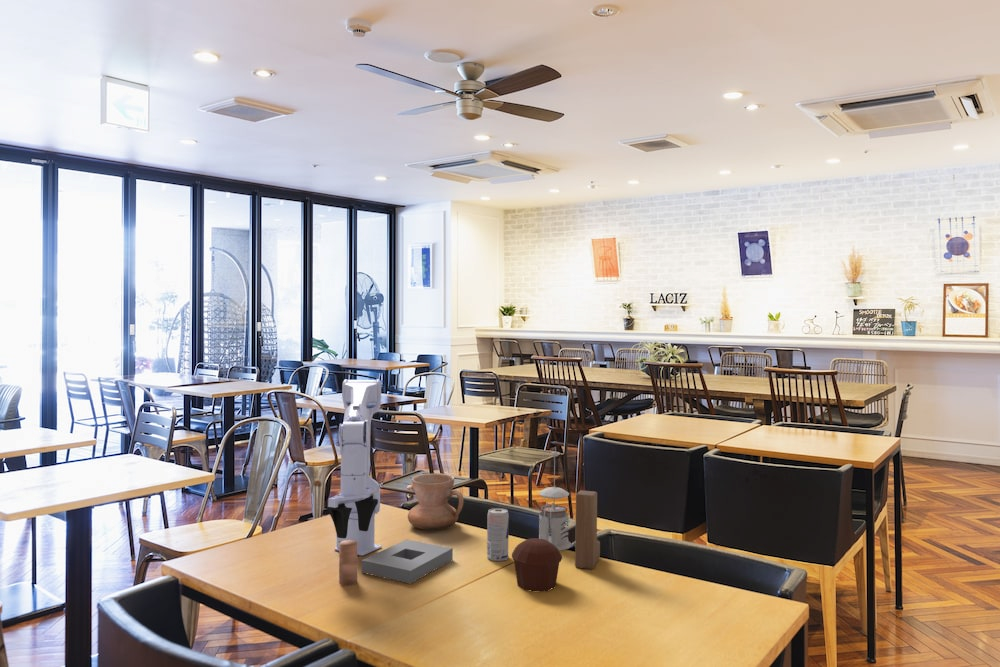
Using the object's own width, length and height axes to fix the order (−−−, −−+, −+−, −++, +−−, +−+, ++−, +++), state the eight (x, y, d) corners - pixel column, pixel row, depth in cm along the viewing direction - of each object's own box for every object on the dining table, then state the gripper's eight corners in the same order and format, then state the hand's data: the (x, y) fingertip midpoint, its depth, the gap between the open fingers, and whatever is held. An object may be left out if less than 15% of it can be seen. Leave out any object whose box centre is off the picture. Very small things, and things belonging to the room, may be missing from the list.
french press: (575, 541, 194) (576, 449, 193) (565, 554, 183) (566, 457, 182) (540, 537, 197) (541, 446, 196) (528, 550, 186) (529, 454, 185)
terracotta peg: (335, 583, 162) (335, 543, 161) (347, 577, 165) (347, 539, 165) (349, 586, 160) (349, 546, 159) (360, 580, 163) (360, 541, 163)
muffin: (572, 584, 162) (572, 541, 162) (541, 598, 154) (541, 552, 154) (532, 571, 170) (533, 529, 170) (500, 584, 162) (501, 540, 162)
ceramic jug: (394, 529, 202) (394, 479, 202) (420, 516, 216) (420, 469, 215) (449, 538, 195) (450, 486, 195) (473, 524, 208) (474, 476, 208)
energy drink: (509, 554, 182) (509, 508, 181) (507, 562, 176) (507, 514, 176) (488, 554, 182) (488, 507, 182) (485, 561, 177) (486, 513, 177)
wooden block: (582, 556, 181) (583, 485, 181) (600, 558, 180) (601, 487, 180) (574, 567, 173) (575, 494, 172) (593, 570, 171) (594, 495, 171)
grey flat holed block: (361, 572, 168) (361, 560, 168) (406, 550, 184) (406, 539, 184) (410, 583, 162) (410, 570, 161) (452, 560, 177) (452, 548, 177)
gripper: (346, 479, 155) (345, 543, 154) (386, 471, 167) (386, 529, 167) (321, 477, 158) (320, 539, 157) (363, 469, 171) (362, 526, 170)
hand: (352, 534), depth 162 cm, fingers open, 7 cm apart
